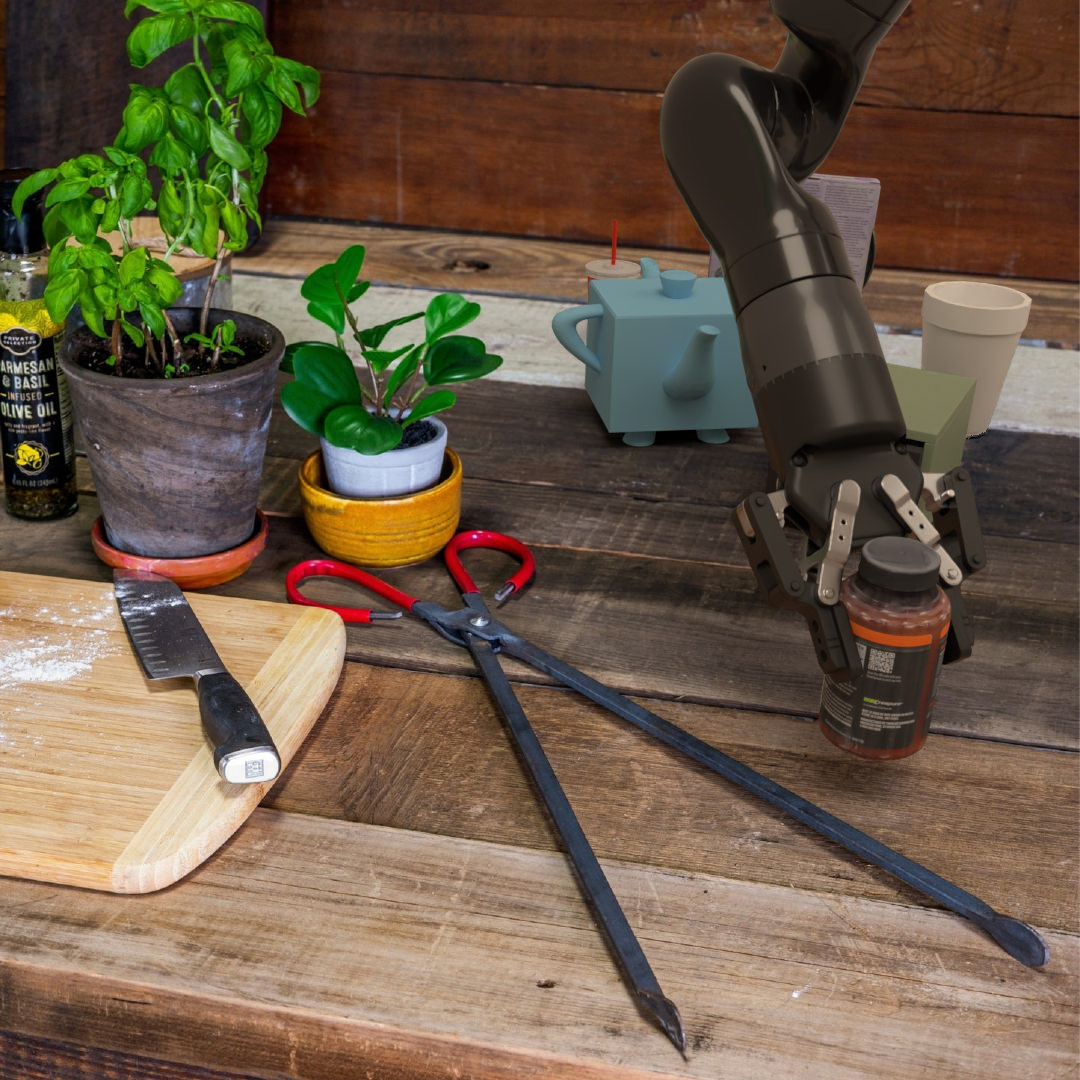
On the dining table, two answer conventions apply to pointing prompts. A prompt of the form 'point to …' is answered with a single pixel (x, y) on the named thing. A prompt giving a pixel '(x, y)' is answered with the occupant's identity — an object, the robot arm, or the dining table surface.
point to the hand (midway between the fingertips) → (903, 669)
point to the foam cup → (973, 338)
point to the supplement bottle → (890, 652)
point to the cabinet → (934, 415)
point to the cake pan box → (843, 219)
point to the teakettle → (661, 355)
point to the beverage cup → (612, 265)
